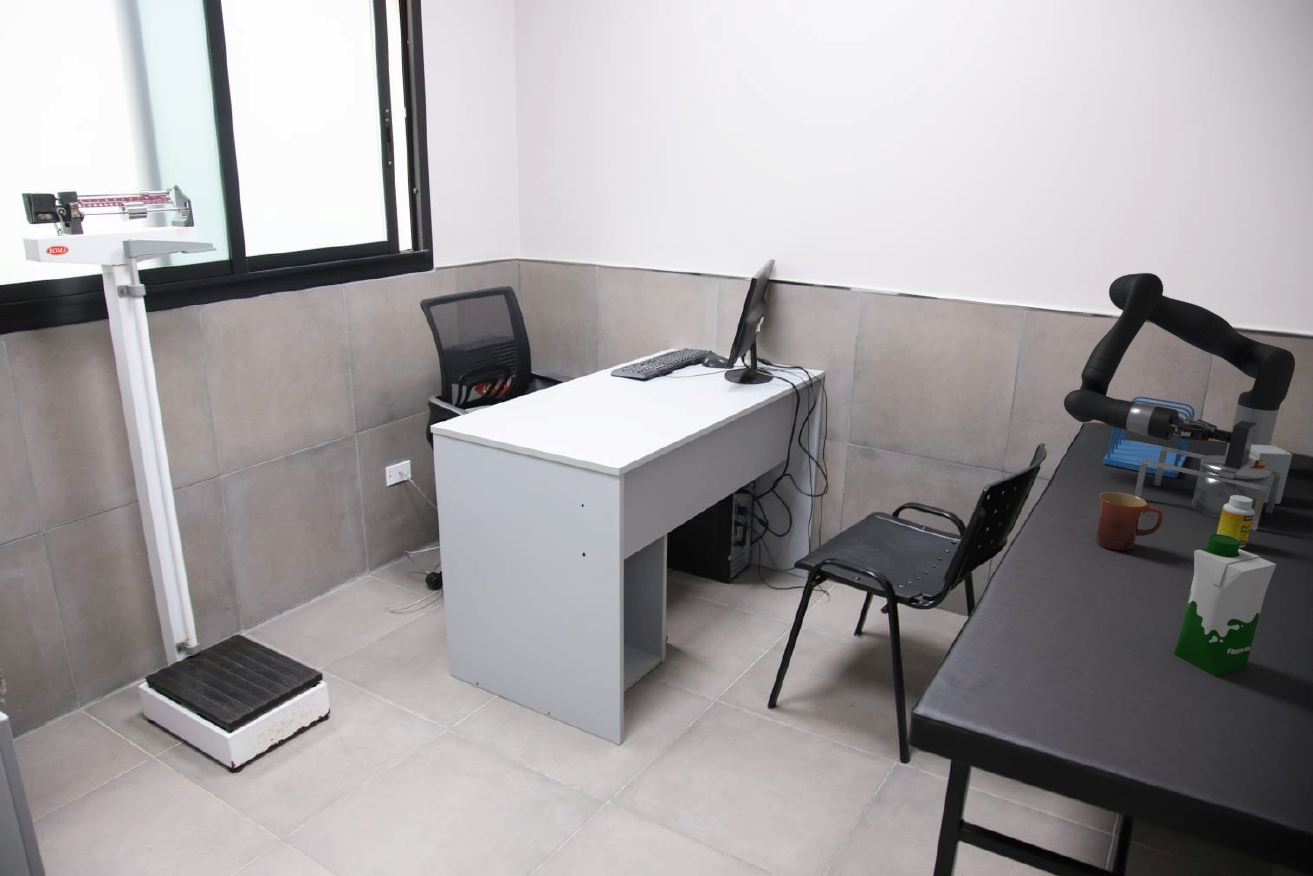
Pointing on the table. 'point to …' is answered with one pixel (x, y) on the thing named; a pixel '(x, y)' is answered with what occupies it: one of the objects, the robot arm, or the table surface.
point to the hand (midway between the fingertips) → (1234, 438)
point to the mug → (1122, 520)
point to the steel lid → (1238, 456)
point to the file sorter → (1145, 447)
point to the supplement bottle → (1237, 519)
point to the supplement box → (1272, 465)
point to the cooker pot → (1215, 487)
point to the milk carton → (1223, 606)
